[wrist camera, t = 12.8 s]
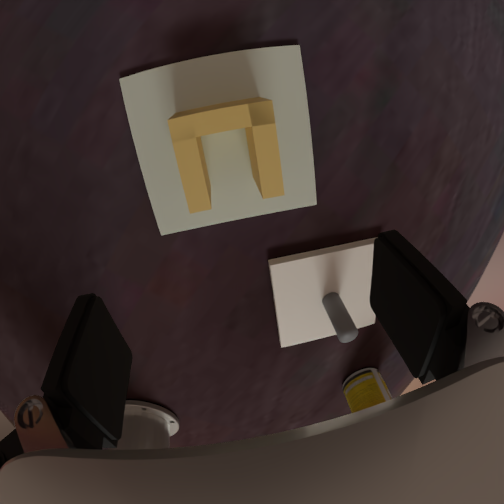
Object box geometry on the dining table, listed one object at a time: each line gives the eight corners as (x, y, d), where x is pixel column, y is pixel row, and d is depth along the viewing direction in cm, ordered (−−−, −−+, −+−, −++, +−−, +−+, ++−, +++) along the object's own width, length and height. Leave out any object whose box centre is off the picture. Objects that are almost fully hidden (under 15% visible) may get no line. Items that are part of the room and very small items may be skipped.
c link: (175, 112, 21) (167, 120, 17) (259, 96, 21) (272, 100, 17) (193, 189, 25) (189, 213, 20) (270, 173, 25) (284, 195, 21)
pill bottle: (333, 384, 43) (356, 447, 34) (366, 360, 42) (396, 424, 32) (354, 393, 46) (376, 449, 36) (384, 371, 44) (412, 428, 35)
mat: (161, 233, 27) (161, 235, 26) (120, 79, 19) (119, 78, 19) (315, 202, 27) (316, 204, 27) (298, 45, 20) (299, 44, 19)
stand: (279, 341, 36) (291, 384, 31) (268, 259, 30) (282, 303, 24) (371, 318, 36) (392, 355, 31) (380, 236, 30) (412, 271, 25)
